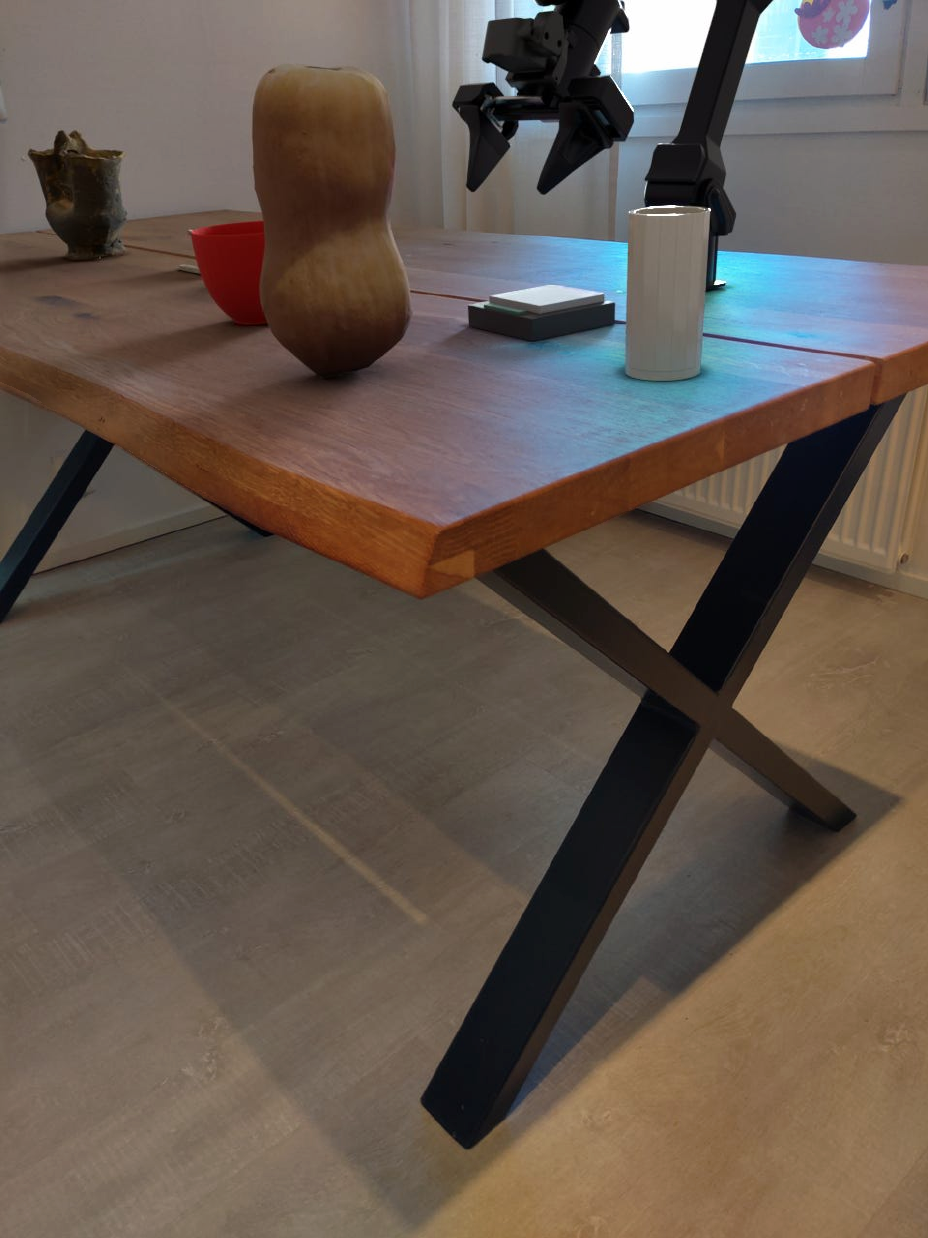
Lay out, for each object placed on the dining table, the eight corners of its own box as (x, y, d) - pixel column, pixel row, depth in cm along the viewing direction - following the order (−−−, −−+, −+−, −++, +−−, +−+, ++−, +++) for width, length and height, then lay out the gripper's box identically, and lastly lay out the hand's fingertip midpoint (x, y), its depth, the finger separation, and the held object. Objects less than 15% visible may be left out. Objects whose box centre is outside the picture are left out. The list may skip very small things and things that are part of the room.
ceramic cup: (258, 301, 128) (246, 216, 123) (340, 315, 117) (331, 222, 112) (167, 319, 120) (150, 229, 115) (246, 336, 109) (232, 238, 104)
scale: (548, 310, 113) (548, 282, 112) (614, 323, 105) (615, 294, 104) (468, 325, 108) (467, 296, 106) (532, 341, 100) (531, 310, 98)
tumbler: (662, 358, 91) (669, 204, 85) (716, 371, 86) (727, 208, 80) (609, 371, 88) (612, 212, 82) (662, 385, 83) (669, 217, 77)
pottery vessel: (38, 254, 181) (9, 132, 171) (96, 246, 187) (71, 127, 177) (92, 266, 163) (63, 130, 154) (154, 257, 169) (130, 126, 160)
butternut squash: (431, 379, 88) (410, 53, 77) (279, 398, 85) (232, 62, 74) (396, 347, 100) (372, 61, 89) (261, 363, 97) (218, 69, 86)
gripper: (453, -12, 96) (385, 136, 95) (609, -35, 84) (532, 134, 83) (516, 70, 104) (454, 206, 104) (666, 60, 92) (596, 213, 92)
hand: (503, 190), depth 95 cm, fingers open, 9 cm apart
